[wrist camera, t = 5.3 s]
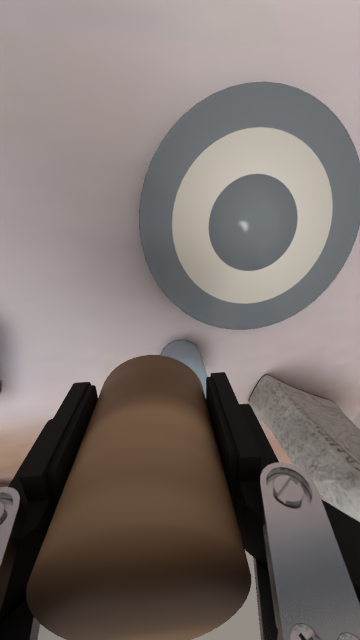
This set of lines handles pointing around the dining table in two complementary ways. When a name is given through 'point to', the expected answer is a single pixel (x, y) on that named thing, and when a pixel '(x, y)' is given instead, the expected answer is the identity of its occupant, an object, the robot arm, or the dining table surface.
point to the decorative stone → (314, 440)
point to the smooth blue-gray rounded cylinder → (187, 357)
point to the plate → (250, 205)
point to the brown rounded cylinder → (143, 518)
